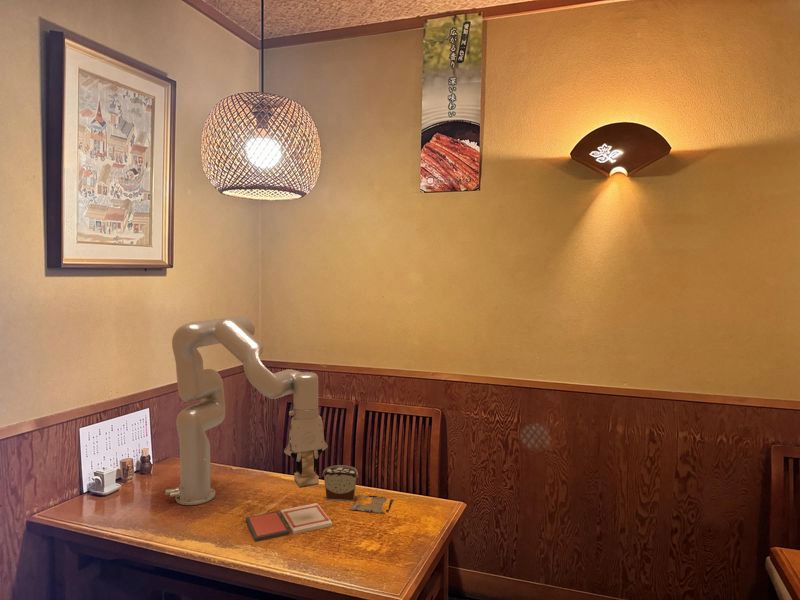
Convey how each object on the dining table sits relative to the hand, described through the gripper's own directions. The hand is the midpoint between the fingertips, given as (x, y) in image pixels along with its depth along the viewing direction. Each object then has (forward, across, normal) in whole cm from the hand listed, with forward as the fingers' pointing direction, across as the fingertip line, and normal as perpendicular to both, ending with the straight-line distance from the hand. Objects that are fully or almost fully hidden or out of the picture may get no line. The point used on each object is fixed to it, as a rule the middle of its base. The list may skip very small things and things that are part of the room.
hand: (306, 470), depth 166 cm
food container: (+16, +16, +11) cm, 25 cm away
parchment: (+16, +23, +1) cm, 28 cm away
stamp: (+4, 0, 0) cm, 4 cm away
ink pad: (+15, -12, 0) cm, 20 cm away
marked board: (+15, 0, 0) cm, 15 cm away
